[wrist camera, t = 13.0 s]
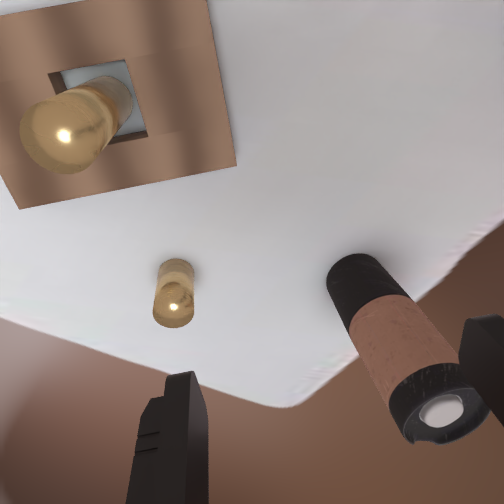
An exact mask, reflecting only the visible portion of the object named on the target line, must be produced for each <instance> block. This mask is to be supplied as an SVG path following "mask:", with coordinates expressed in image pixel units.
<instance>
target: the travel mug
mask: <svg viewBox="0 0 504 504" xmlns="http://www.w3.org/2000/svg"><path fill="white" fill-rule="evenodd" d="M326 284H327V289H328V292H329V294H330V296H331V298H332V300H333V302H334V305H335V307H336V309H337V311H338V313H339V315H340V317H341V319H342V321H343V324H344V326H345V328H346V330H347V332H348V334H349V336H350V338H351V340H352V342H353V344H354V346H355V348H356V350H357V351H358V353H359V355H360V357H361V359H362V361H363V363H364V364H365V366H366V368H367V370H368V372H369V374H370V375H371V377H372V379H373V381H374V383H375V385H376V387H377V388H378V390H379V392H380V394H381V396H382V398H383V400H384V402H385V403H386V405H387V407H388V409H389V411H390V413H391V415H392V417H393V418H394V420H395V422H396V424H397V426H398V428H399V430H400V431H401V433H402V435H403V437H404V438H405V439H406V440H407V441H408V442H409V443H410V444H412V445H413V444H414V443H415V441H430V442H433V443H435V444H436V445H445V444H449V443H452V442H455V441H457V440H459V439H461V438H463V437H465V436H467V435H469V434H470V433H471V432H473V431H474V430H476V429H477V428H478V427H479V426H480V425H481V424H482V423H483V422H484V421H485V420H486V419H487V417H488V416H489V414H490V412H491V410H490V408H489V407H488V406H487V404H486V403H485V402H484V400H483V399H482V398H481V396H480V395H479V394H478V392H477V391H476V390H475V389H474V387H473V386H472V385H471V383H470V382H469V381H468V379H467V378H466V377H465V375H464V374H463V372H462V370H461V367H460V364H459V359H458V355H457V354H456V352H455V351H454V350H453V349H452V348H451V346H450V345H449V344H448V343H447V341H446V340H445V339H444V338H443V337H442V335H441V334H440V333H439V332H438V330H437V329H436V328H435V327H434V325H433V324H432V323H431V322H430V321H429V319H428V318H427V317H426V316H425V314H424V313H423V312H422V311H421V309H420V308H419V307H418V306H417V305H416V303H415V302H414V301H413V300H412V299H411V298H410V297H409V295H408V294H407V293H406V292H405V291H404V290H403V289H402V288H401V287H400V285H399V284H398V283H397V282H396V281H395V280H394V279H393V278H392V277H391V275H390V274H389V273H388V272H387V271H386V270H385V269H384V268H383V267H382V266H381V264H380V263H379V262H378V261H377V260H376V259H374V258H373V257H371V256H369V255H366V254H353V255H349V256H347V257H345V258H343V259H341V260H339V261H338V262H337V263H336V264H335V265H334V266H333V267H332V268H331V270H330V271H329V273H328V276H327V282H326Z"/></svg>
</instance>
